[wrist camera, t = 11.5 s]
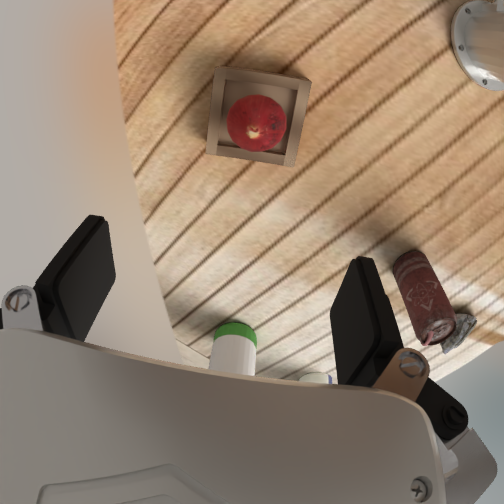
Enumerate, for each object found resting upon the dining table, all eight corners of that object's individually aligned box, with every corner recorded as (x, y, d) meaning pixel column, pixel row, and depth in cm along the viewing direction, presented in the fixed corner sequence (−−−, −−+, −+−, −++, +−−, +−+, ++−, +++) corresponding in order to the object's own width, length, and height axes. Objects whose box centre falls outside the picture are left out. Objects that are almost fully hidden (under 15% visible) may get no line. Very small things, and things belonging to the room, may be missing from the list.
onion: (284, 89, 30) (287, 100, 24) (286, 139, 34) (289, 164, 27) (229, 91, 31) (216, 104, 24) (233, 141, 34) (223, 166, 28)
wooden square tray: (220, 65, 31) (215, 67, 29) (308, 79, 32) (311, 81, 29) (210, 145, 37) (205, 154, 35) (292, 157, 38) (293, 167, 35)
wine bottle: (221, 347, 61) (199, 495, 37) (209, 321, 56) (179, 485, 32) (260, 344, 59) (250, 499, 35) (252, 317, 55) (237, 490, 31)
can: (385, 277, 48) (408, 347, 36) (402, 245, 44) (434, 314, 33) (414, 283, 48) (441, 350, 37) (432, 253, 44) (467, 319, 33)
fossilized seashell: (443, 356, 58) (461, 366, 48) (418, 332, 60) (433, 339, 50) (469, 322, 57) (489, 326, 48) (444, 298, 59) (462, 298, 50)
